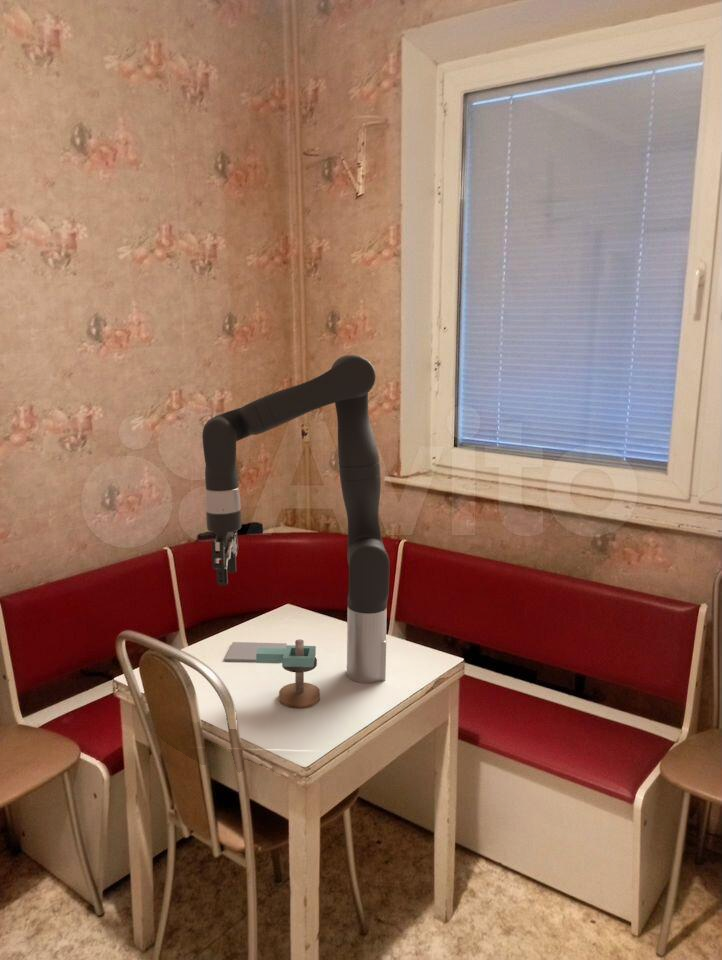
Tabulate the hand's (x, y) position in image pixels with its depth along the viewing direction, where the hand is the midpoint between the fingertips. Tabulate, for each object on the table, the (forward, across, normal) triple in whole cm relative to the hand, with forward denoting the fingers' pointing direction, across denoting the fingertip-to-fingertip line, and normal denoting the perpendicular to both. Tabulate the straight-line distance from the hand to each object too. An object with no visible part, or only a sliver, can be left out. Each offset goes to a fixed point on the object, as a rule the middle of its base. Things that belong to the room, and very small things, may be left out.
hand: (227, 578), depth 158 cm
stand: (+26, -6, -16) cm, 31 cm away
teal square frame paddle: (+17, -6, -13) cm, 22 cm away
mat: (+26, +17, -2) cm, 31 cm away
